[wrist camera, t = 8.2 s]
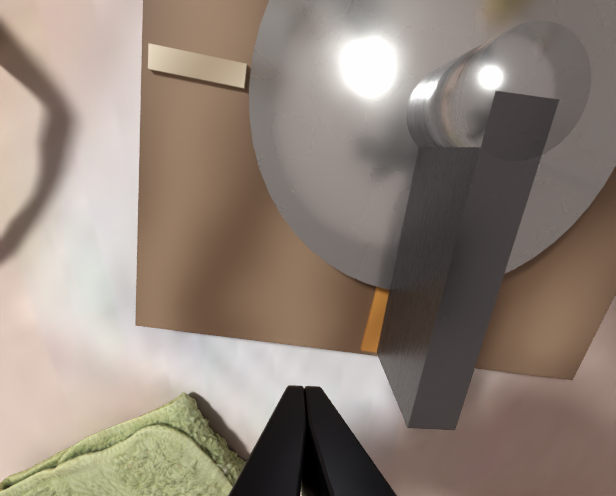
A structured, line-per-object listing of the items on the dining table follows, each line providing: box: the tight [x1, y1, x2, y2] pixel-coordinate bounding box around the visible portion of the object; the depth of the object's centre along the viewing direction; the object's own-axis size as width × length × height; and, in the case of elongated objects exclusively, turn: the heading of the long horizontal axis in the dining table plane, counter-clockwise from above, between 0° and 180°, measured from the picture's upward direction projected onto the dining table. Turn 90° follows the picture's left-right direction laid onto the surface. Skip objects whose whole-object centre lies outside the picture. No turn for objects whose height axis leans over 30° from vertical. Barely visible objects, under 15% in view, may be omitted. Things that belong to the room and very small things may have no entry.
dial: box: [249, 0, 616, 430], centre depth 10 cm, size 17×14×5 cm
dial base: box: [136, 0, 616, 380], centre depth 13 cm, size 22×22×2 cm
